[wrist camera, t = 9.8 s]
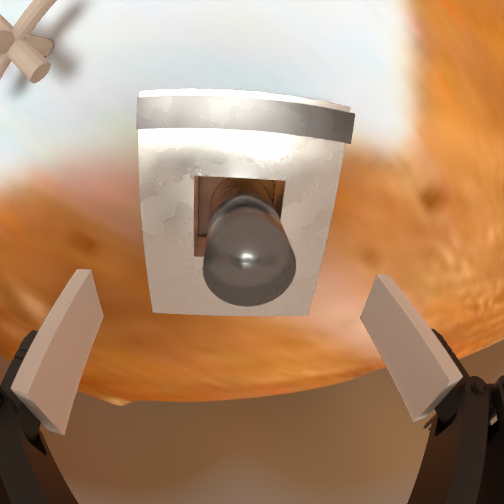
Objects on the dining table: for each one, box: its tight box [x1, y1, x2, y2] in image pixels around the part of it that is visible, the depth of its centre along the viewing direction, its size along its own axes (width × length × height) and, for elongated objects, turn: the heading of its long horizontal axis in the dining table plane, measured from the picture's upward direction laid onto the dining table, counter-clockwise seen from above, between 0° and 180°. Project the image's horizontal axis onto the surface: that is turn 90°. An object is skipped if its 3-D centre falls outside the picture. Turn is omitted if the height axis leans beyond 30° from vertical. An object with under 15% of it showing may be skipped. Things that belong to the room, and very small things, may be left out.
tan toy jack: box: [0, 0, 56, 83], centre depth 9 cm, size 10×10×10 cm
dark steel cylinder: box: [203, 177, 296, 307], centre depth 19 cm, size 5×5×10 cm
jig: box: [137, 89, 355, 316], centre depth 21 cm, size 14×18×6 cm
